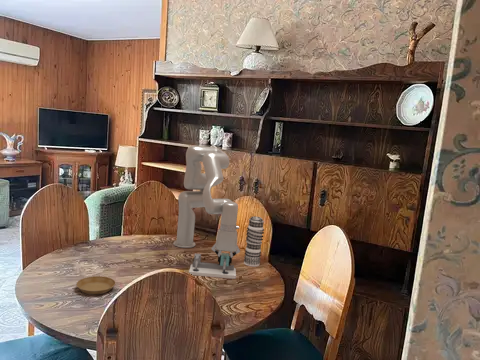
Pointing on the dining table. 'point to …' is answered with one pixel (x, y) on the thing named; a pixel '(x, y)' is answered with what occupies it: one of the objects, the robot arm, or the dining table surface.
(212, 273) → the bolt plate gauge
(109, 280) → the plant saucer
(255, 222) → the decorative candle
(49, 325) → the dining table surface
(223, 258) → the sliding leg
